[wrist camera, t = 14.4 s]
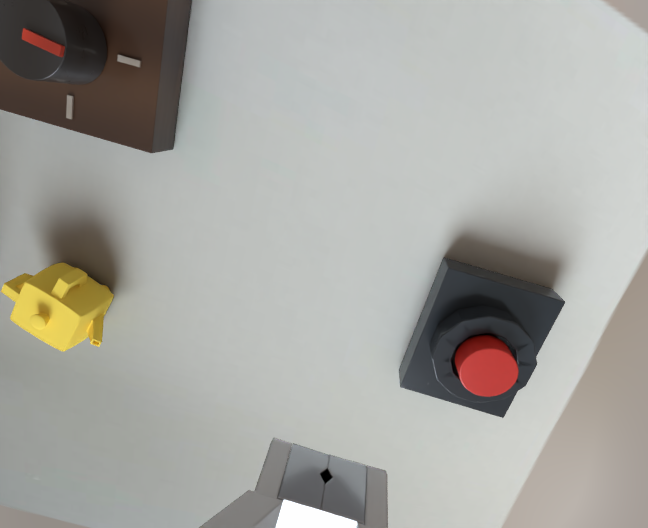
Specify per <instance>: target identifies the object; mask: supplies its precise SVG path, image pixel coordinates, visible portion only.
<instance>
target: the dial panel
mask: <svg viewBox="0 0 648 528" xmlns="http://www.w3.org/2000/svg"><path fill="white" fill-rule="evenodd" d="M66 1H69V2H71V3H74V4H77V5H79V6H81V7H83V8H84V9H86V10H87V11H88V12H89V13H90V14H91V15H92V16H93V17H94V18H95V19H96V21H97V22H98V23H99V25H100V27H101V29H102V31H103V33H104V36H105V40H106V45H107V59H106V63H105V66H104V69H103V71H102V72H101V74H100V75H99V76H98V77H97V78H96V79H95V80H94V81H92V82H90V83H88V84H84V85H74V84H64V83H55V82H45V81H35V80H28V79H25V78H22V77H20V76H18V75H16V74H15V73H13V72H12V71H11V70H9V69H8V68H7V67H6V66H5V65H4V64H3V63H2V62H1V60H0V109H1V110H4V111H8V112H11V113H15V114H18V115H21V116H25V117H28V118H32V119H35V120H39V121H42V122H46V123H49V124H52V125H56V126H59V127H63V128H66V129H70V130H73V131H77V132H80V133H84V134H87V135H90V136H94V137H97V138H101V139H104V140H108V141H111V142H115V143H118V144H121V145H125V146H128V147H132V148H135V149H139V150H142V151H146V152H149V153H155V152H161V151H167V150H173V145H174V137H175V129H176V121H177V113H178V105H179V97H180V89H181V81H182V73H183V65H184V57H185V49H186V41H187V33H188V25H189V17H190V9H191V1H192V0H66Z"/></svg>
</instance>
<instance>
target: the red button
mask: <svg viewBox="0 0 648 528" xmlns="http://www.w3.org/2000/svg"><path fill="white" fill-rule="evenodd" d="M455 365H456V368H457V371H458V374H459V378H460V380H461V383H462V384H463V386H464V387H465V388H466V389H467V390H468V391H470V392H472V393H474V394H476V395H479V396H485V397H490V396H496V395H500V394H502V393H504V392H506V391H507V390H509V389H510V388H511V387H512V386H513V385H514V384H515V382H516V380H517V377H518V365H517V362H516V360H515V359H514V357H513V355H512V353H511V351H510V350H509V348H508V346H507V345H506V344H505V343H504V342H503V341H502V340H500V339H498V338H496V337H494V336H490V335H478V336H474V337H471V338H469V339H467V340H466V341H464V342H463V343H462V344H461V345H460V346H459V348H458V350H457V351H456V354H455Z"/></svg>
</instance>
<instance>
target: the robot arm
mask: <svg viewBox="0 0 648 528" xmlns="http://www.w3.org/2000/svg"><path fill="white" fill-rule="evenodd" d="M291 446H292V447H291ZM290 450H291V451H290ZM289 453H290V454H289ZM288 457H289V458H288ZM285 468H286V469H285ZM199 528H388V504H387V473H386V471H385V470H382V469H378V468H375V467H371V466H368V465H367V466H366V465H364V464H361V463H357V462H354V461H350V460H347V459H343V458H340V457H336V456H333V455H328V454H325V453H321V452H318V451H315V450H312V449H309V448H306V447H303V446H300V445H297V444H294V443H293V444H292V443H289V442H286V441H283V440H280V439H277V438H273V440H272V442H271V444H270V447H269V450H268V453H267V456H266V459H265V462H264V465H263V468H262V471H261V474H260V476H259V479H258V482H257V485H256V488H255V491H250V490H248V491H247V492H246V493H244V494H243V495H242V496H240V497H239V498H238V499H236V500H235V501H234V502H232V503H231V504H230V505H228V506H227V507H226V508H224V509H223V510H222V511H220V512H219V513H218V514H216V515H215V516H214V517H212V518H211V519H210V520H208V521H207V522H206V523H204V524H203V525H202V526H200V527H199Z"/></svg>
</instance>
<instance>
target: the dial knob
mask: <svg viewBox="0 0 648 528" xmlns="http://www.w3.org/2000/svg"><path fill="white" fill-rule="evenodd" d="M106 59H107V45H106V40H105V36H104V33H103V31H102V29H101V27H100V25H99V23H98V22H97V21H96V19H95V18H94V17H93V16H92V15H91V14H90V13H89V12H88V11H87V10H86V9H84V8H83V7H81V6H79V5H77V4H74V3H71V2H69V1H66V0H0V60H1V62H2V63H3V64H4V65H5V66H6V67H7V68H8V69H9V70H11V71H12V72H13V73H15V74H16V75H18V76H20V77H22V78H25V79H28V80H35V81H45V82H55V83H64V84H74V85H84V84H88V83H90V82H92V81H94V80H95V79H96V78H97V77H98V76H99V75H100V74H101V72H102V71H103V69H104V66H105V63H106Z"/></svg>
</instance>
